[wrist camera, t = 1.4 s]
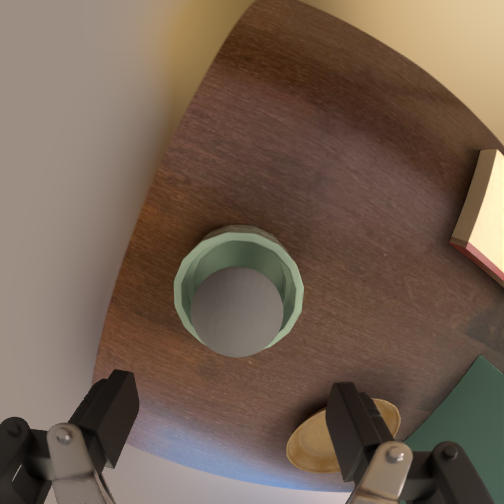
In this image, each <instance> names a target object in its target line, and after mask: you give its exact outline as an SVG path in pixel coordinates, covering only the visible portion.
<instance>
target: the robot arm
mask: <svg viewBox="0 0 504 504" xmlns="http://www.w3.org/2000/svg"><path fill="white" fill-rule="evenodd" d="M138 411H139V397H138V393H137V388H136V383H135V378H134V374H133V373H132V372H128V371H122V370H117V369H115V370H114V371H113V372H112V373H111V375H110V376H109V378H108V379H101V380H100V381H98V382H97V383H95V384H94V385H93V386H92V388H91V389H90V390H89V392H88V394H87V395H86V396H85V398H84V400H83V401H82V402H81V403H80V405H79V407H78V408H77V409H76V411H75V412H74V414H73V415H72V417H71V418H70V420H69V421H68V423H59V424H56V425H54V426H52V427H51V428H50V429H49V431H43V430H35V429H30V427H29V425H28V424H27V422H26V421H25V420H24V419H22V418H19V417H11V418H7V419H6V420H4V421H3V422H2V423H1V424H0V504H44V501H45V499H46V497H47V494H48V492H49V490H50V488H51V486H53V490H54V493H55V497H56V500H57V503H58V504H116V503H115V501H114V498H113V497H112V494H111V492H110V490H109V488H108V486H107V483H106V481H105V479H104V476H103V474H102V471H103V468H104V466H105V467H109V468H112V469H114V468H115V466H116V463H117V461H118V459H119V456H120V454H121V451H122V449H123V447H124V444H125V442H126V440H127V437H128V435H129V433H130V430H131V428H132V426H133V423H134V421H135V419H136V417H137V414H138ZM325 420H326V425H327V428H328V431H329V435H330V438H331V441H332V444H333V447H334V451H335V454H336V457H337V460H338V463H339V467H340V470H341V473H342V477H343V480H344V482H349V481H354V482H355V485H356V486H355V488H354V490H353V491H352V493H351V495H350V497H349V498H348V500H347V502H346V503H345V504H400V501H405V502H406V504H495V502H494V501H493V499H492V497H491V495H490V493H489V492H488V490H487V488H486V486H485V484H484V483H483V481H482V479H481V478H480V476H479V474H478V472H477V471H476V469H475V467H474V466H473V464H472V462H471V461H470V459H469V457H468V456H467V454H466V453H465V451H464V449H463V448H462V447H461V446H460V445H459V444H457V443H455V442H452V441H443V442H440V443H438V444H437V445H436V446H435V447H434V449H433V450H432V451H411V449H410V448H409V447H408V446H407V445H406V444H404V443H402V442H398V441H395V440H394V438H393V436H392V434H391V432H390V430H389V428H388V427H387V425H386V423H385V421H384V419H383V417H382V416H381V414H380V412H379V410H377V406H376V405H375V403H374V401H373V399H372V398H370V397H369V396H368V395H367V394H365V393H364V392H362V393H358V391H357V389H356V387H355V385H354V384H353V382H342V383H334V384H333V386H332V389H331V393H330V396H329V400H328V404H327V408H326V413H325ZM20 465H21V467H20V469H19V471H18V473H17V475H16V477H15V478H14V480H13V477H14V475H15V474H16V472H17V470H18V468H19V466H20ZM12 480H13V482H12Z"/></svg>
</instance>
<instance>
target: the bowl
mask: <svg viewBox="0 0 504 504" xmlns="http://www.w3.org/2000/svg"><path fill="white" fill-rule="evenodd" d="M234 266H240V267H247V268H250V269H254V270H256V271H258V272H260V273H262V274H263V275H264V276H266V277H267V278H268V279H269V280H270V281H271V282H272V283H273V284H274V286H275V287H276V288H277V290H278V292H279V294H280V297H281V300H282V304H283V312H284V315H283V321H282V325H281V328H280V330H279V332H278V334H277V336H276V337H275V339H274V340H273V341H272V342H271V343H270V344H269V345H268V346H267V347H266V348H268V347H271V346H272V345H274V344H275V343H276V342H277V341H279V340H280V339H281V338H283V337H284V336H285V335H287V334H288V333H289V332H290V330H291V329H292V327H293V325H294V324H295V322H296V320H297V318H298V317H299V315H300V313H301V311H302V302H303V294H304V286H303V283H302V280H301V277H300V273H299V270H298V267H297V265H296V263H295V261H294V260H293V258H292V257H291V255H290V254H289V252H288V251H287V249H286V248H285V247H284V246H283V245H282V244H281V243H280V242H279V240H278V239H277V238H276V237H275V236H274V235H272V234H270V233H268V232H266V231H264V230H262V229H260V228H258V227H255V226H252V225H228V226H225V227H222V228H220V229H217V230H214V231H211V232H210V233H208V234H207V235H206V236H205V237H204V238H203V239H202V240H201V241H200V242H199V243H197V244H196V245H195V246H194V247H193V249H192V250H191V251H190V252H189V253H188V254H187V255H186V256H185V257H184V259H183V260H182V263H181V265H180V268H179V270H178V272H177V275H176V277H175V280H174V305H175V308H176V310H177V312H178V314H179V316H180V319H181V321H182V323H183V325H184V327H185V328H186V329H187V330H188V331H189V332H190V333H191V334H193V335H194V336H195V337H196V338H197V339H198V340H199V341H200V342H201V343H203V342H202V341H201V339H200V338H199V336H198V335H197V333H196V331H195V329H194V326H193V324H192V319H191V303H192V299H193V296H194V294H195V292H196V290H197V288H198V286H199V285H200V284H201V283H202V282H203V280H204V279H206V278H207V277H208V276H209V275H210V274H212V273H214V272H216V271H218V270H220V269H223V268H227V267H234ZM203 344H204V343H203ZM264 349H265V348H264Z"/></svg>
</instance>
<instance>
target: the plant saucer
mask: <svg viewBox="0 0 504 504" xmlns="http://www.w3.org/2000/svg"><path fill="white" fill-rule="evenodd" d="M372 399H373V401H374V403H375V405H376V406H377V410H379V412H380V414H381V416H382V417H383V419H384V421H385V423H386V425H387V427H388V428H389V430H390V432H391V434H392V436H393V438H394V437H395V435H396V434H397V432H398V429H399V426H400V420H401V419H400V413H399V411H398V409H397V408H396V407H395V406H394V405H393V404H392V403H390V402H388V401H385V400H381V399H376V398H372ZM326 408H327V407H324V408H323V409H321V410H319V411H317V412H316V413H314V414H313V415H311V416H310V417H309V418H307V419H306V420H305V421H304V422H303V423H302V424H301V425H300V426H299V427H298V428H297V429H296V430H295V431H294V433H293V434H292V435H291V437H290V439H289V440H288V443H287V446H286V454H287V458H288V459H289V461H290V462H291V463H292V464H293V465H294V466H295V467H297V468H299V469H301V470H303V471H307V472H311V473H334V472H339V471H341V470H340V467H339V463H338V460H337V457H336V454H335V451H334V447H333V444H332V441H331V438H330V435H329V431H328V428H327V425H326V420H325V413H326Z"/></svg>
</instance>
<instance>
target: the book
mask: <svg viewBox="0 0 504 504" xmlns="http://www.w3.org/2000/svg"><path fill="white" fill-rule="evenodd" d="M449 243H450V244H451V245H452V246H453V247H455V248H456V249H457V250H459V251H460V252H461V253H463V254H464V255H465V256H466V257H468V258H469V259H470V260H471V261H473V262H474V263H475V264H476V265H478V266H479V267H480V268H481V269H483V270H484V271H485V272H486V273H487V274H488V275H490V276H491V277H492V278H493V279H494V280H495V281H497V282H498V283H499V284H500V285H501V286H502V287H503V288H504V156H503V155H502V154H501V153H500V151H499V150H498V149H489V150H481V151H480V155H479V158H478V162H477V165H476V169H475V172H474V176H473V179H472V182H471V185H470V188H469V191H468V194H467V197H466V200H465V203H464V206H463V208H462V211H461V214H460V216H459V219H458V222H457V224H456V227H455V229H454V232H453V234H452V236H451V238H450V240H449Z"/></svg>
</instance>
